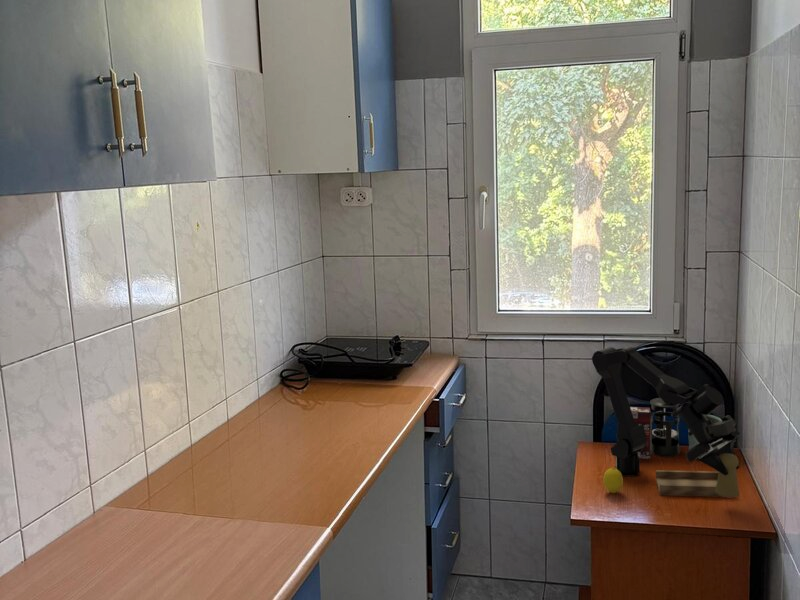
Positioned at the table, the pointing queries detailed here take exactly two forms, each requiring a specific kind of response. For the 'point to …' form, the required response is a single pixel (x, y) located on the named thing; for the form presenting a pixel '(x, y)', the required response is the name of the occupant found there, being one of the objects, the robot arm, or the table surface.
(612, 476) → the lemon
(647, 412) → the supplement box
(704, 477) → the track
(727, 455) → the olive pawn figure
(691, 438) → the pale green plant pot
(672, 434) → the french press
